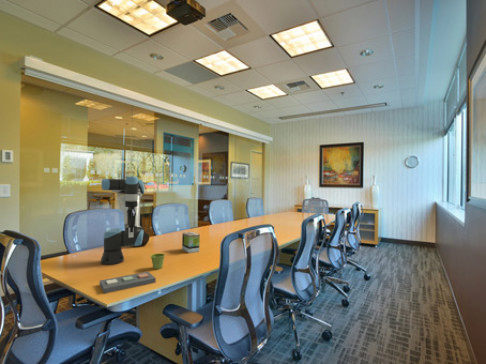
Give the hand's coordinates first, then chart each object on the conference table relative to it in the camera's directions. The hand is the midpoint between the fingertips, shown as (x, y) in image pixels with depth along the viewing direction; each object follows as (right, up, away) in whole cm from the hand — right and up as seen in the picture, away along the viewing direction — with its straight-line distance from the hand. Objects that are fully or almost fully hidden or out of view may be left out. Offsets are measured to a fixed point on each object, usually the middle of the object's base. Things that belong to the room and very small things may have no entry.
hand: (131, 237), depth 173 cm
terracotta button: (+13, -22, -13) cm, 29 cm away
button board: (+6, -23, -18) cm, 30 cm away
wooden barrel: (-23, -23, +72) cm, 79 cm away
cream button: (-1, -22, -24) cm, 32 cm away
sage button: (+6, -22, -18) cm, 29 cm away
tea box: (+27, -24, +57) cm, 68 cm away
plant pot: (+14, -23, +10) cm, 29 cm away
